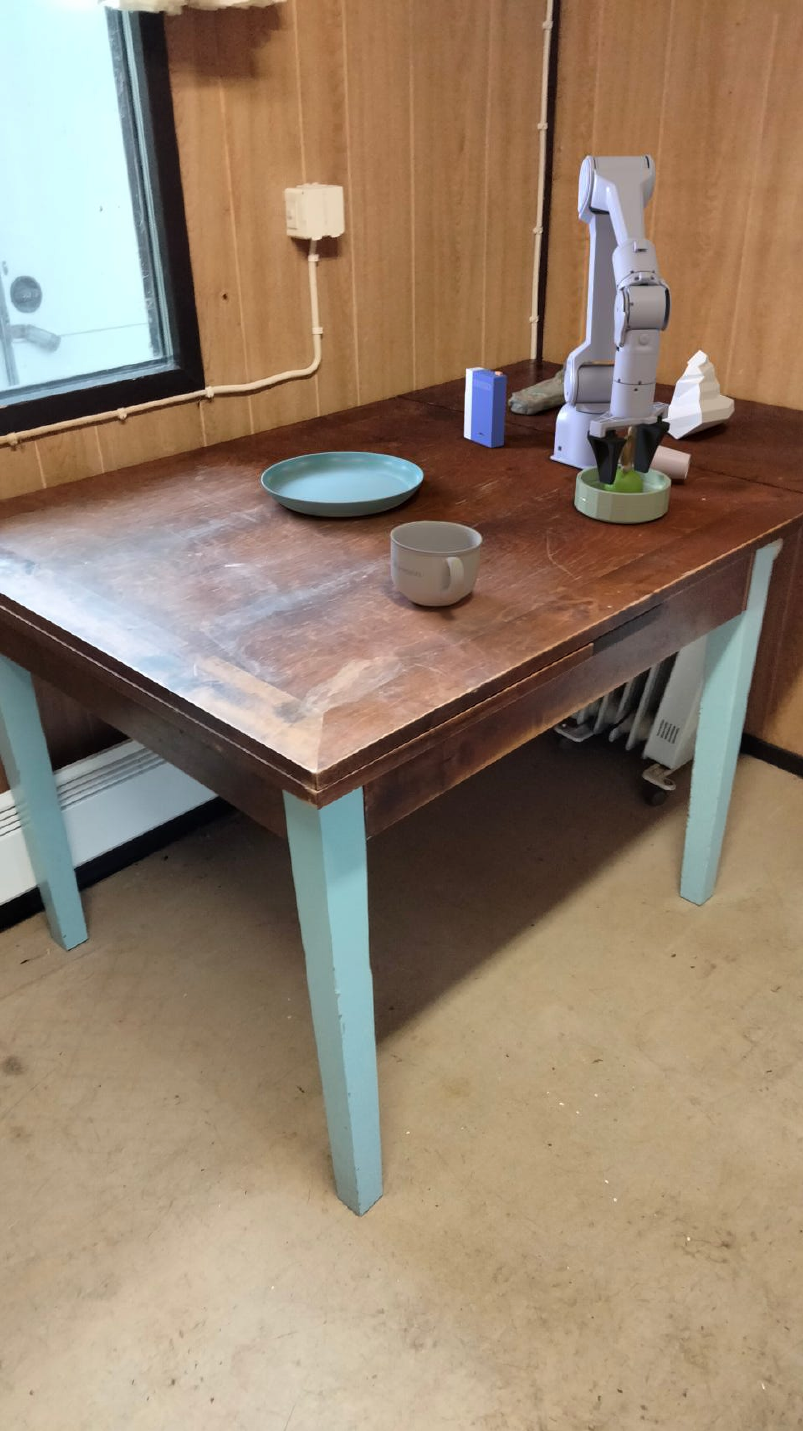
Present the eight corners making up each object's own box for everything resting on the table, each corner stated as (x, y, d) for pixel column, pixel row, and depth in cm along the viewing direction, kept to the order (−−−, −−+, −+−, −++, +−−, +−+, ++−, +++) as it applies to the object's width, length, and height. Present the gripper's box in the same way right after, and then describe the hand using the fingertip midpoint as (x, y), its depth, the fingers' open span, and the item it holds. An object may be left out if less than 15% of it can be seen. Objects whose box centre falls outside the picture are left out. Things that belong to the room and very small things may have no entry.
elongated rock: (493, 417, 196) (538, 429, 191) (495, 389, 193) (540, 400, 188) (588, 371, 218) (630, 381, 213) (590, 346, 215) (633, 355, 210)
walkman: (503, 445, 176) (507, 373, 170) (490, 448, 175) (493, 375, 169) (476, 434, 182) (478, 364, 176) (463, 436, 181) (465, 366, 174)
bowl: (555, 507, 151) (557, 477, 148) (614, 487, 158) (617, 458, 155) (626, 532, 142) (630, 501, 140) (685, 510, 149) (690, 480, 147)
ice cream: (640, 442, 182) (636, 357, 178) (688, 432, 192) (685, 352, 187) (702, 438, 173) (699, 349, 169) (749, 428, 182) (748, 343, 178)
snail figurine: (644, 499, 152) (654, 417, 145) (638, 514, 146) (648, 430, 140) (607, 495, 153) (615, 414, 147) (600, 510, 148) (608, 426, 142)
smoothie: (694, 444, 159) (605, 429, 163) (690, 446, 154) (598, 431, 158) (684, 486, 162) (597, 470, 166) (680, 489, 156) (590, 473, 160)
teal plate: (456, 493, 156) (456, 471, 154) (341, 538, 141) (340, 515, 139) (344, 460, 170) (344, 440, 168) (229, 498, 155) (227, 476, 153)
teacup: (387, 579, 129) (386, 518, 125) (473, 576, 130) (475, 515, 126) (396, 629, 117) (396, 564, 113) (491, 625, 118) (493, 560, 114)
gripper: (622, 394, 134) (612, 495, 141) (691, 376, 142) (678, 472, 149) (581, 384, 138) (573, 482, 145) (650, 367, 146) (639, 461, 153)
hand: (623, 477), depth 147 cm, fingers open, 7 cm apart
